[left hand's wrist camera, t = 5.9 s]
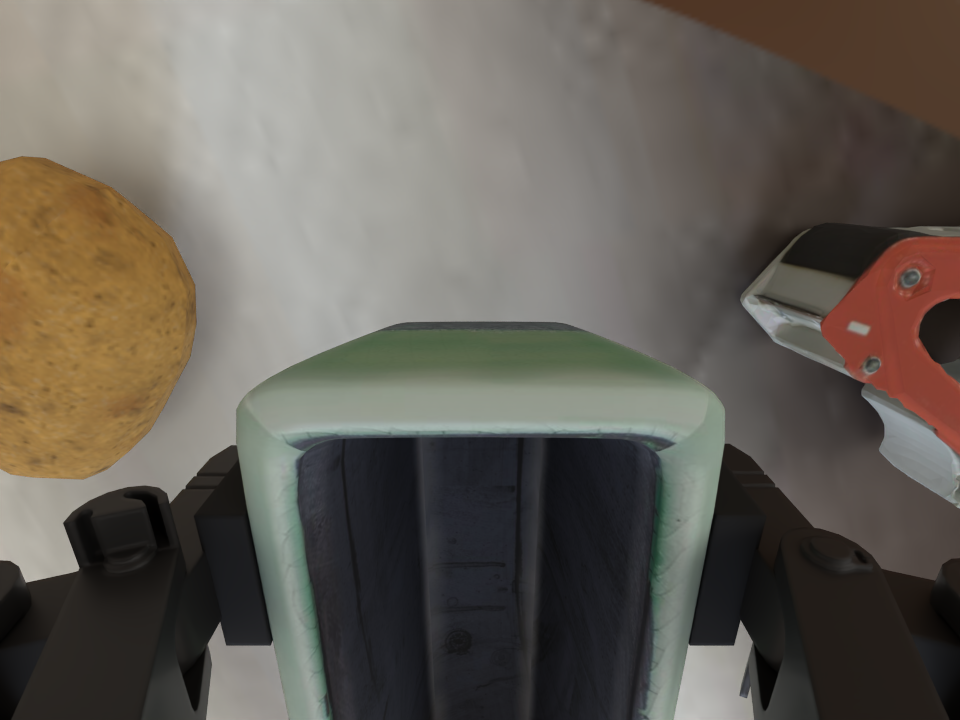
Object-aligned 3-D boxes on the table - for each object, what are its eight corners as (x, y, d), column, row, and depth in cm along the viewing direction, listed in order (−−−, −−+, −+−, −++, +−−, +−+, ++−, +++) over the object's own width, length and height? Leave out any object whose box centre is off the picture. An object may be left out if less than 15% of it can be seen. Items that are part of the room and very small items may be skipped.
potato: (-40, 348, 24) (-234, 420, 17) (70, 108, 20) (-122, 87, 14) (147, 456, 26) (37, 556, 19) (278, 257, 22) (196, 300, 16)
